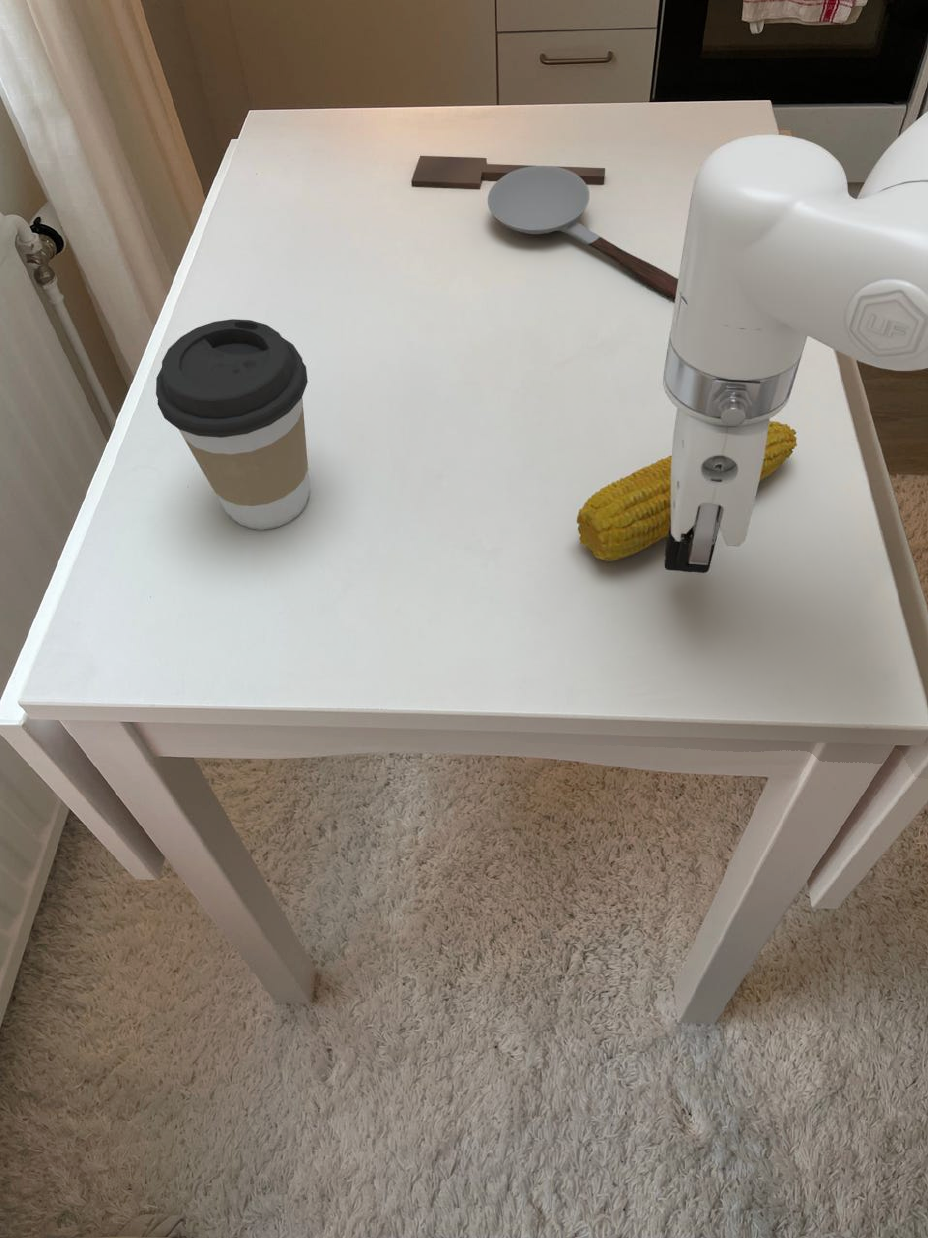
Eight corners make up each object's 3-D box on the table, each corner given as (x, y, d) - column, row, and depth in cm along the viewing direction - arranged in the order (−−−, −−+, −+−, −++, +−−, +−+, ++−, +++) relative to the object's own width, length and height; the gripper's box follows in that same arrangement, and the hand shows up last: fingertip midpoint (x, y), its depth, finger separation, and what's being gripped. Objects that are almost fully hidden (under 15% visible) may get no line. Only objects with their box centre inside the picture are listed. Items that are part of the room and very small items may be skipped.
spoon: (538, 177, 109) (538, 152, 106) (774, 310, 95) (780, 285, 92) (468, 224, 106) (466, 200, 103) (702, 369, 91) (706, 345, 89)
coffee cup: (353, 465, 84) (325, 321, 72) (302, 562, 77) (262, 422, 65) (236, 442, 86) (190, 299, 74) (178, 534, 80) (116, 394, 68)
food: (609, 585, 74) (615, 535, 70) (564, 541, 77) (567, 490, 72) (803, 470, 81) (821, 416, 76) (756, 433, 84) (770, 379, 79)
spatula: (606, 167, 111) (606, 158, 110) (602, 193, 108) (603, 184, 107) (420, 160, 114) (419, 152, 113) (411, 186, 110) (410, 177, 110)
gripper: (803, 458, 51) (739, 650, 66) (789, 291, 60) (735, 494, 75) (662, 448, 52) (630, 640, 67) (668, 285, 61) (639, 487, 76)
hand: (685, 562), depth 71 cm, fingers closed
